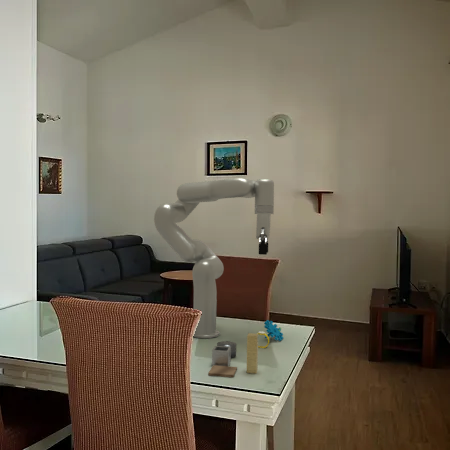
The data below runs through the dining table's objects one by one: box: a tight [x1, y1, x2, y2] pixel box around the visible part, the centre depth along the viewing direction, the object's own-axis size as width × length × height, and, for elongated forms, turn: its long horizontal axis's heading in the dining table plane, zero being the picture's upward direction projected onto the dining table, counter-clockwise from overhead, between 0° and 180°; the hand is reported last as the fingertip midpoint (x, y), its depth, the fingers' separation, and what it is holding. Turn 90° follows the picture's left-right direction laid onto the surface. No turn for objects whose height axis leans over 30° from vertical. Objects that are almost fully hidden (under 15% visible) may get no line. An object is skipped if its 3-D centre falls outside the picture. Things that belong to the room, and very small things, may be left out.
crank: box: [211, 340, 238, 366], centre depth 169 cm, size 16×7×5 cm, turn 170°
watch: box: [256, 331, 270, 349], centre depth 186 cm, size 6×3×6 cm, turn 77°
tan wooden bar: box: [246, 332, 259, 374], centre depth 157 cm, size 3×3×12 cm
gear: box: [263, 319, 284, 342], centre depth 199 cm, size 11×6×10 cm
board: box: [207, 365, 238, 378], centre depth 156 cm, size 8×8×1 cm
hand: (263, 253), depth 194 cm, fingers open, 9 cm apart
